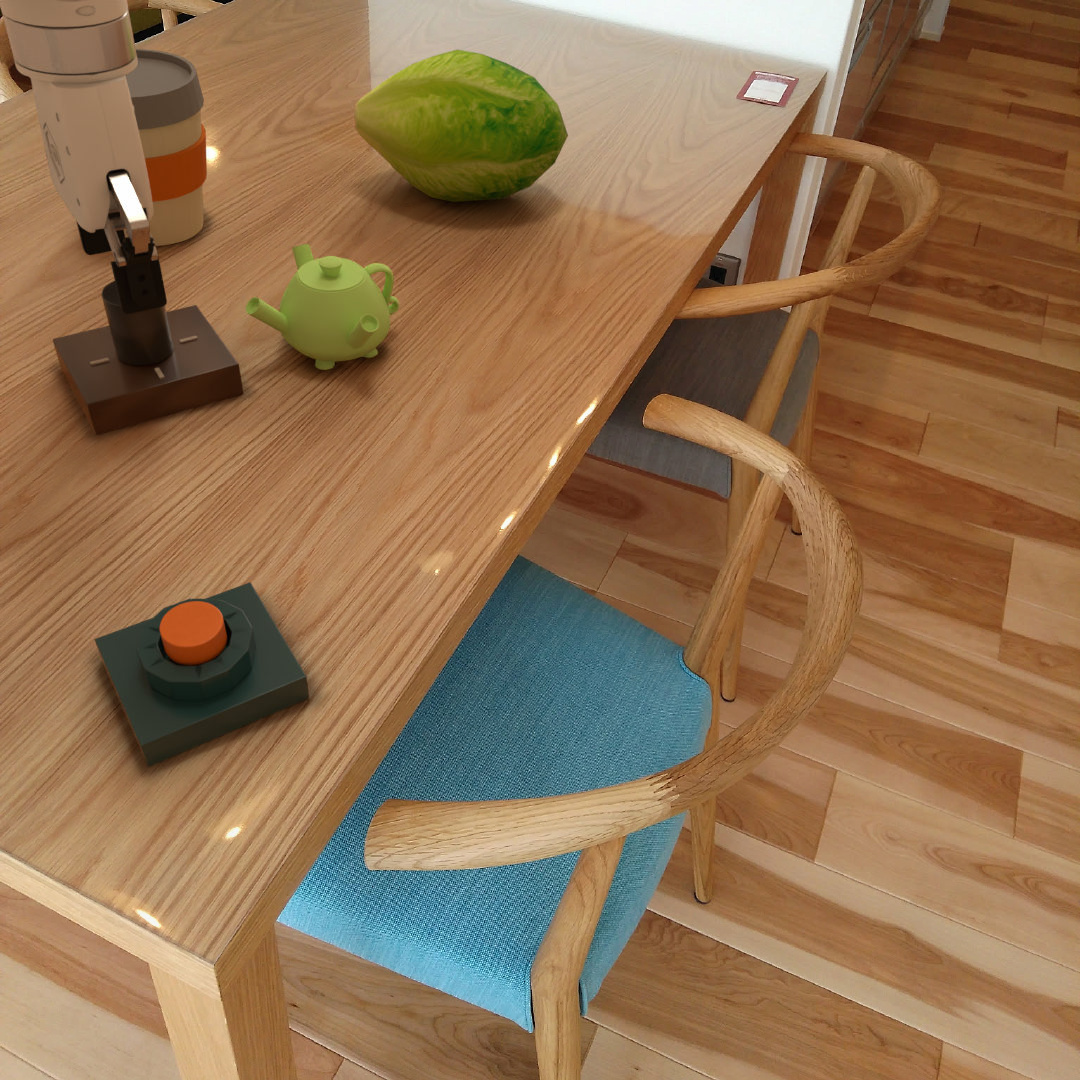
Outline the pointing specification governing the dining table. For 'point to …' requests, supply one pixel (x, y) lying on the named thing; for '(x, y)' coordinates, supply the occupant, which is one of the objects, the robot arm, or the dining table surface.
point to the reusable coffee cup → (170, 142)
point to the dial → (137, 331)
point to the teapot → (331, 308)
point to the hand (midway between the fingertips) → (124, 278)
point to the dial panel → (148, 373)
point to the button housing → (202, 678)
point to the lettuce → (463, 126)
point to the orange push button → (193, 633)
